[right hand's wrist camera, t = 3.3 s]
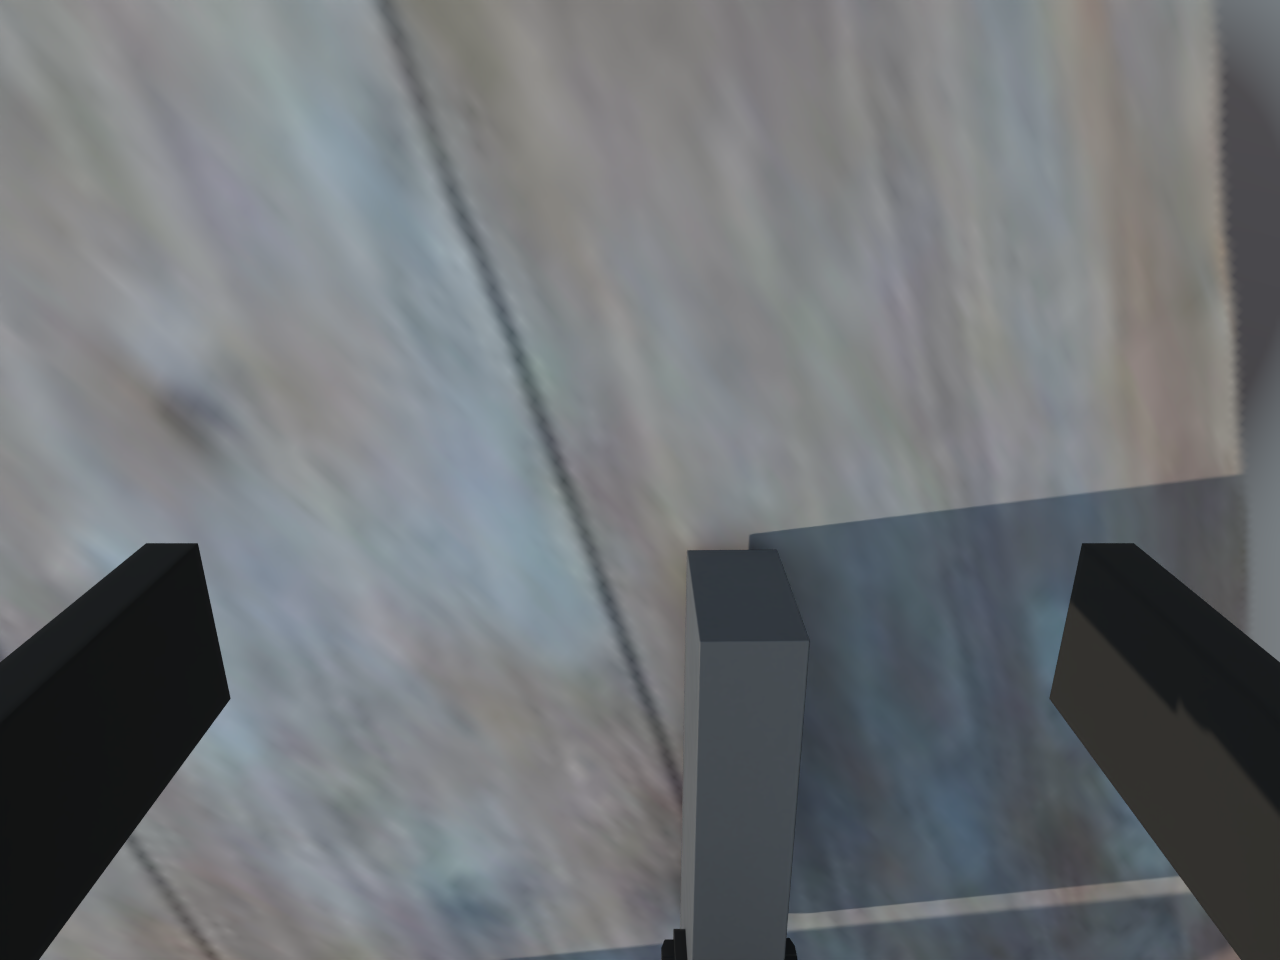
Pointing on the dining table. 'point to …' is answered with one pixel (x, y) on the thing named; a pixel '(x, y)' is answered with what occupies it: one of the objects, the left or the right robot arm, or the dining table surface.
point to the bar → (740, 753)
